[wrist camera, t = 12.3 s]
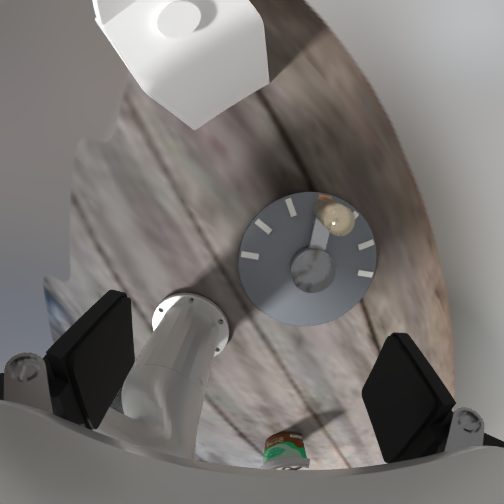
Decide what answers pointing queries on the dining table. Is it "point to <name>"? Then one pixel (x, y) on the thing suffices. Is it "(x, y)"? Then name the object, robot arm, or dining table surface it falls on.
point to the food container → (285, 452)
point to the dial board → (282, 250)
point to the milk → (189, 51)
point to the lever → (320, 246)
